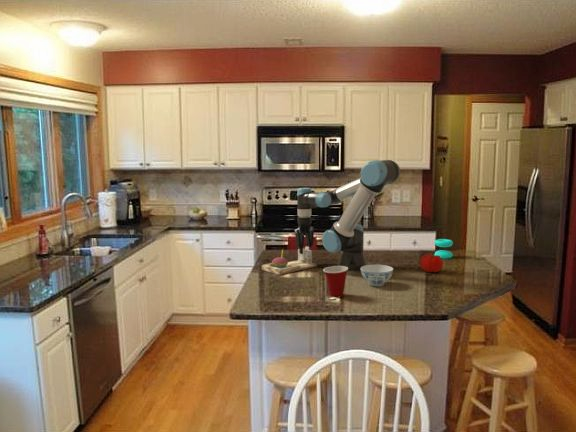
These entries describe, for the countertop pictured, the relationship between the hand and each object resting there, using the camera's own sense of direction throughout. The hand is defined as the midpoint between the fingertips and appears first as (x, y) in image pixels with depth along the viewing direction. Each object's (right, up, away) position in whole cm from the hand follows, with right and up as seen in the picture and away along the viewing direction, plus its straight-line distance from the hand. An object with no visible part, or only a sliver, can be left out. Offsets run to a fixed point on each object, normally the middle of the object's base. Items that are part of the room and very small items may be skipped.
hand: (304, 258), depth 271 cm
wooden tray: (-8, -4, -7) cm, 11 cm away
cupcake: (-13, -5, -11) cm, 18 cm away
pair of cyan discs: (+81, 0, +15) cm, 82 cm away
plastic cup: (+11, -11, -56) cm, 58 cm away
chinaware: (+32, -9, -40) cm, 52 cm away
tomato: (+64, -5, -18) cm, 67 cm away
